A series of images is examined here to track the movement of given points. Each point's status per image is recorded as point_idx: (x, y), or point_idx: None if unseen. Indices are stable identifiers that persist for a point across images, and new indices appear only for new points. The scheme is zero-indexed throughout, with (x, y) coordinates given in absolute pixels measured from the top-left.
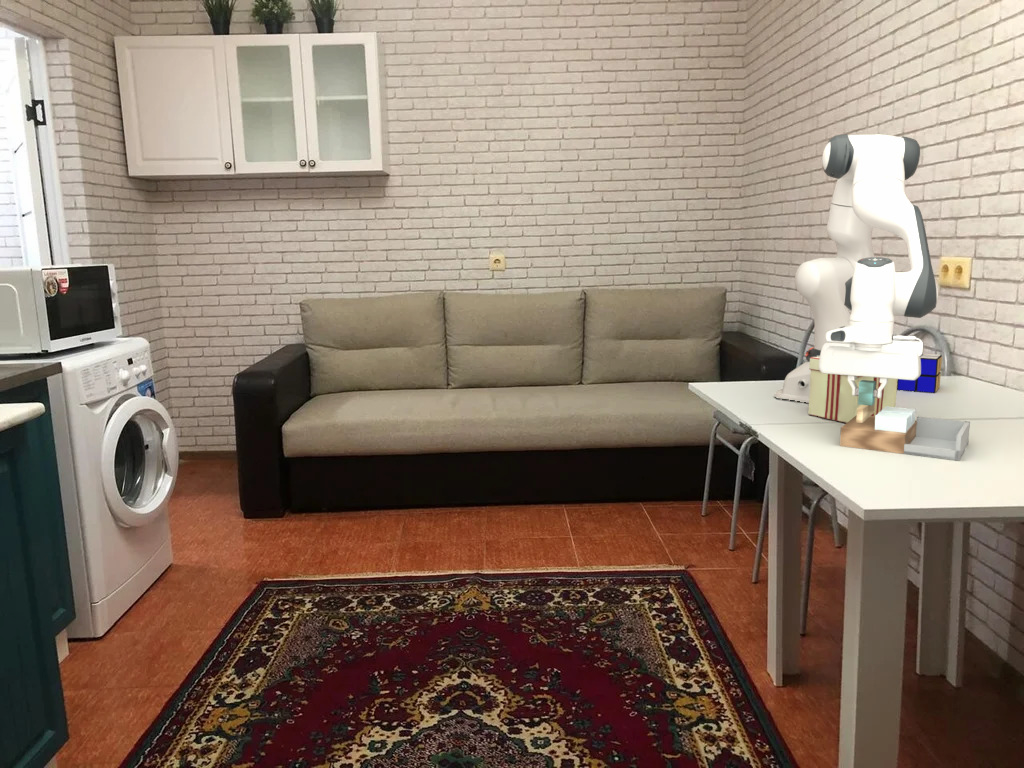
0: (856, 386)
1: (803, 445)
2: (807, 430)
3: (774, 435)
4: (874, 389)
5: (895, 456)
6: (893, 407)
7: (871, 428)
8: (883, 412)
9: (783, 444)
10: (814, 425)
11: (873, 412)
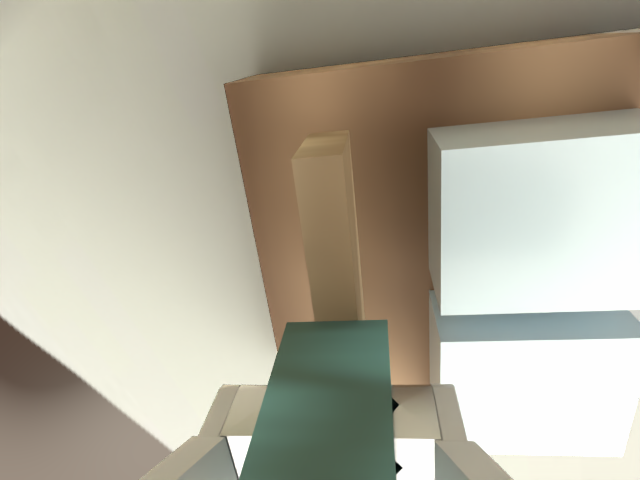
0: (223, 463)
1: (205, 408)
2: (79, 195)
3: (55, 339)
4: (399, 471)
5: None
6: (508, 165)
7: (412, 381)
8: (466, 364)
9: (153, 424)
10: (31, 65)
11: (351, 162)
